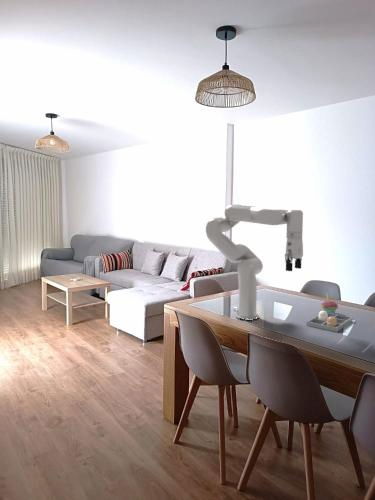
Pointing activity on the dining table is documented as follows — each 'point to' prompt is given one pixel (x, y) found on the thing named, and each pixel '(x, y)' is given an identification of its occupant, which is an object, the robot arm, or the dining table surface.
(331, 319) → the brown egg
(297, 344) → the dining table surface
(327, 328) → the egg tray
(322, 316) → the cream egg
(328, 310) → the cupcake
